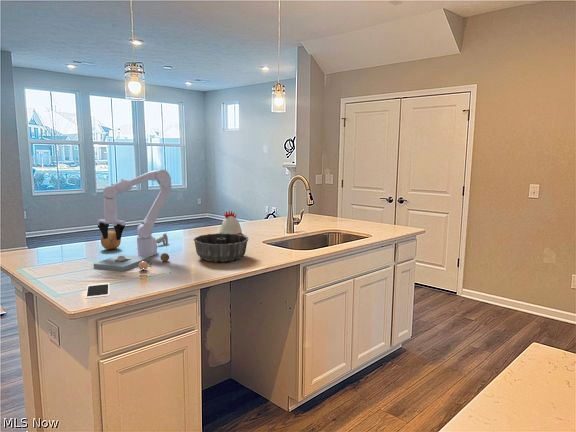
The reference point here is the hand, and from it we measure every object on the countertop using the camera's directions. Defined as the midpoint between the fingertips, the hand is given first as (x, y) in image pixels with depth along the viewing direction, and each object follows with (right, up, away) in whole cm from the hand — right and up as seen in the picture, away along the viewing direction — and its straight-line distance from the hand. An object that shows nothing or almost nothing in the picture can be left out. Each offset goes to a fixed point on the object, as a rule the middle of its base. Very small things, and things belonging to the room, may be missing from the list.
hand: (112, 239), depth 201 cm
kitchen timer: (+48, -1, +63) cm, 79 cm away
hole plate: (+9, -11, -10) cm, 17 cm away
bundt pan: (+52, -10, +4) cm, 53 cm away
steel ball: (+8, -9, -10) cm, 16 cm away
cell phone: (+14, -17, -46) cm, 51 cm away
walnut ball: (+27, -8, -4) cm, 28 cm away
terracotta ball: (+22, -11, -19) cm, 31 cm away
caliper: (+11, -6, +27) cm, 30 cm away
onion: (-9, -7, +20) cm, 23 cm away
